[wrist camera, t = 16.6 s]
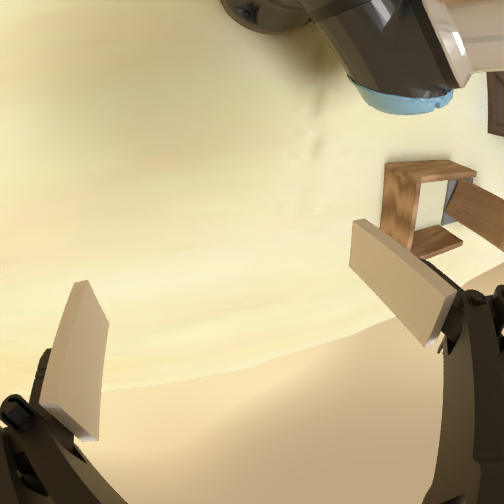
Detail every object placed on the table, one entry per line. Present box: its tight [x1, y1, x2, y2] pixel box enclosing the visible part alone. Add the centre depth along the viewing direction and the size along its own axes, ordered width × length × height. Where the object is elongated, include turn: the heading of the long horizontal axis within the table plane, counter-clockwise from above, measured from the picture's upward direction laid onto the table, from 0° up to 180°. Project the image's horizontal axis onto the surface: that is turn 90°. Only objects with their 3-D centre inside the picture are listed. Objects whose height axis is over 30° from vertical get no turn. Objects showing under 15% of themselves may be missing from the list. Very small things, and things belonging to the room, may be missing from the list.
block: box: [446, 179, 504, 252], centre depth 51 cm, size 10×10×20 cm
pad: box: [441, 178, 473, 225], centre depth 60 cm, size 12×12×1 cm
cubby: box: [380, 160, 477, 260], centre depth 52 cm, size 18×21×9 cm
